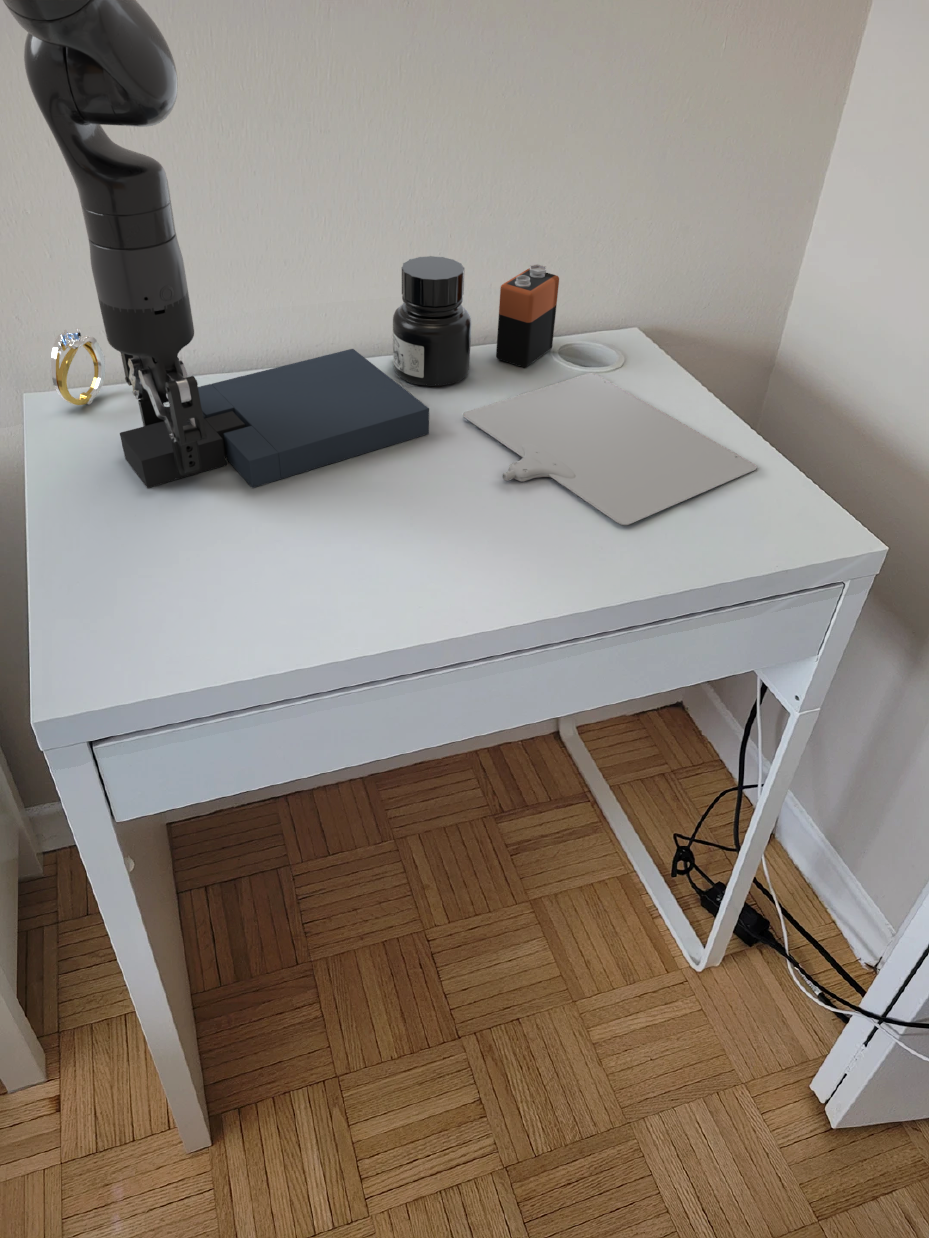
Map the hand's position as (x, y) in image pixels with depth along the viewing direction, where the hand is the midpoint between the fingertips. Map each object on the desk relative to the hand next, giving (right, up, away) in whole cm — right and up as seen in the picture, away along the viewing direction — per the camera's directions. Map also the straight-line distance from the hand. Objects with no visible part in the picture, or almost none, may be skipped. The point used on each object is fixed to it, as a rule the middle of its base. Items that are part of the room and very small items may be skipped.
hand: (172, 451), depth 92 cm
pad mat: (+12, +4, +7) cm, 15 cm away
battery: (+36, +15, +22) cm, 45 cm away
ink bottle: (+25, +12, +18) cm, 33 cm away
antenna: (+42, +1, +6) cm, 42 cm away
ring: (-12, +7, +9) cm, 16 cm away
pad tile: (+1, 0, +2) cm, 2 cm away
